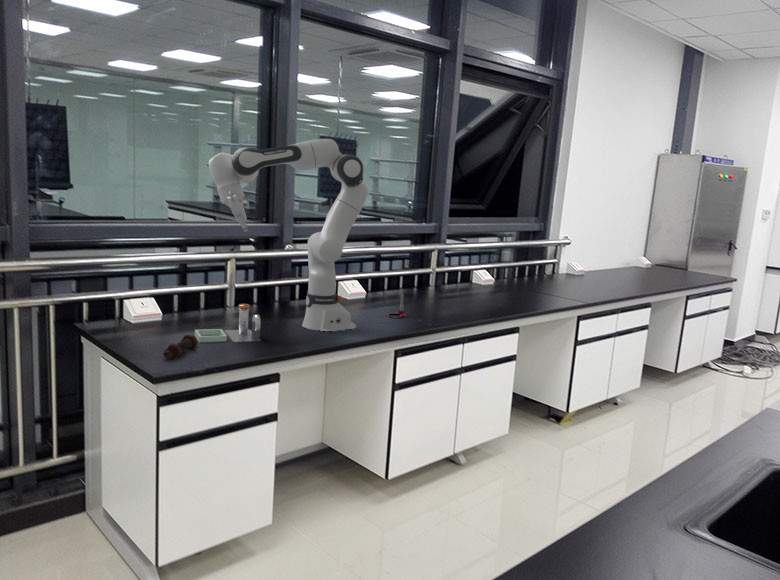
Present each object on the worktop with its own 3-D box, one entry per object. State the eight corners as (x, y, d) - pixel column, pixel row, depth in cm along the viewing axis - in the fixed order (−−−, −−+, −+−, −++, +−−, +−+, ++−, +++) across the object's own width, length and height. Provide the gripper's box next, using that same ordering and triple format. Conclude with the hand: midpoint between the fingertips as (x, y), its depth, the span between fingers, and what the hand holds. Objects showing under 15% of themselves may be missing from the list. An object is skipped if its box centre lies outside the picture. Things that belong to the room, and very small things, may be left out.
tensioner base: (250, 331, 243) (251, 306, 241) (260, 343, 229) (262, 316, 227) (224, 332, 238) (225, 307, 236) (233, 344, 224) (234, 317, 222)
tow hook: (391, 320, 284) (408, 317, 290) (393, 292, 281) (409, 290, 287) (381, 316, 291) (397, 314, 296) (382, 289, 288) (398, 287, 294)
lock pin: (247, 331, 239) (248, 303, 237) (249, 334, 236) (250, 306, 234) (236, 331, 237) (237, 303, 235) (238, 334, 234) (240, 306, 232)
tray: (221, 336, 233) (221, 328, 232) (226, 343, 224) (226, 335, 224) (194, 337, 228) (194, 329, 228) (199, 345, 220) (199, 336, 220)
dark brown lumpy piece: (164, 365, 202) (188, 351, 216) (177, 360, 200) (200, 346, 215) (156, 349, 201) (181, 336, 216) (169, 343, 200) (192, 331, 214)
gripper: (237, 187, 227) (251, 222, 227) (242, 197, 247) (254, 229, 248) (220, 192, 226) (234, 228, 226) (226, 202, 246) (239, 235, 247)
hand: (245, 229), depth 237 cm, fingers open, 8 cm apart
